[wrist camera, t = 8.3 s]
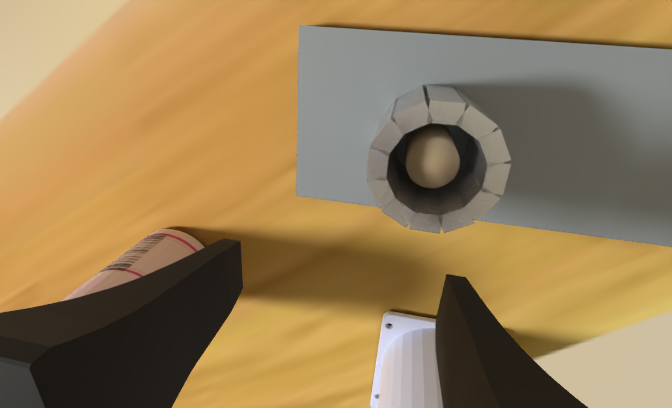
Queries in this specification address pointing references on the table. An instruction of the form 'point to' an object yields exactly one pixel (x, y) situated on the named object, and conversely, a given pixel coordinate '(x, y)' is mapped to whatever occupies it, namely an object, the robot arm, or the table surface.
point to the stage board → (502, 123)
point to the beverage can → (142, 260)
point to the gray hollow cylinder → (474, 171)
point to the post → (431, 156)
